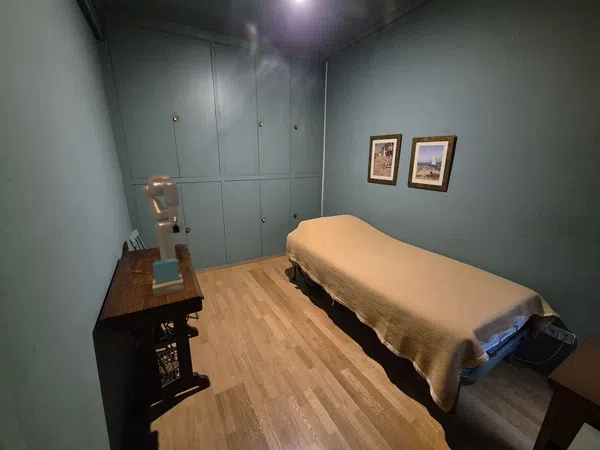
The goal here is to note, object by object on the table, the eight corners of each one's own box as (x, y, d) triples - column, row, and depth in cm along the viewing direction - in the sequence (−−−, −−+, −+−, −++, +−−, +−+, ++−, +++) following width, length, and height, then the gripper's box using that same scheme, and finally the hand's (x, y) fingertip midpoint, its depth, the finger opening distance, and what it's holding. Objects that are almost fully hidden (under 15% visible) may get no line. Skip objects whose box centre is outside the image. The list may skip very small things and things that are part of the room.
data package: (179, 276, 142) (176, 257, 138) (179, 279, 138) (177, 260, 135) (155, 281, 136) (152, 261, 132) (155, 284, 132) (152, 264, 129)
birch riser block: (154, 286, 139) (152, 278, 138) (182, 280, 147) (181, 273, 146) (154, 297, 129) (152, 288, 127) (184, 289, 136) (183, 282, 135)
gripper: (164, 201, 147) (168, 228, 151) (165, 206, 132) (169, 235, 137) (178, 200, 150) (181, 226, 155) (180, 205, 136) (184, 233, 140)
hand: (175, 230), depth 146 cm, fingers open, 9 cm apart
